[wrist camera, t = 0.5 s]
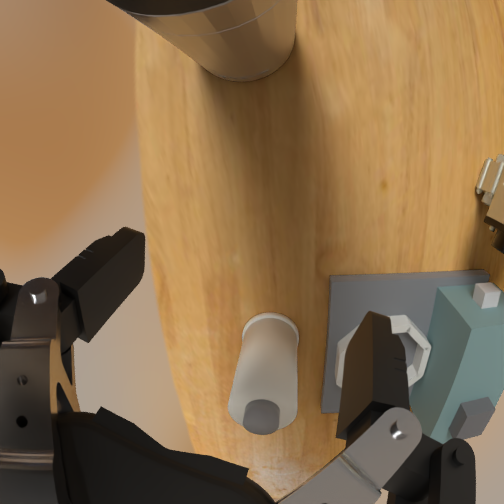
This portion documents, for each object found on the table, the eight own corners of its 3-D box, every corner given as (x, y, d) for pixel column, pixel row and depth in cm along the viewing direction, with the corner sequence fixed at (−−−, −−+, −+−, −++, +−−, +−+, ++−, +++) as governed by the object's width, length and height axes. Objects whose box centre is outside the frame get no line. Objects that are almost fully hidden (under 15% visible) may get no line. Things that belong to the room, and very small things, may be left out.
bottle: (240, 312, 34) (217, 396, 22) (299, 311, 33) (301, 398, 21) (245, 357, 36) (226, 443, 24) (298, 357, 35) (298, 446, 23)
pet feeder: (329, 269, 31) (348, 338, 20) (489, 264, 29) (548, 314, 18) (320, 404, 37) (324, 479, 26) (452, 390, 35) (481, 451, 24)
